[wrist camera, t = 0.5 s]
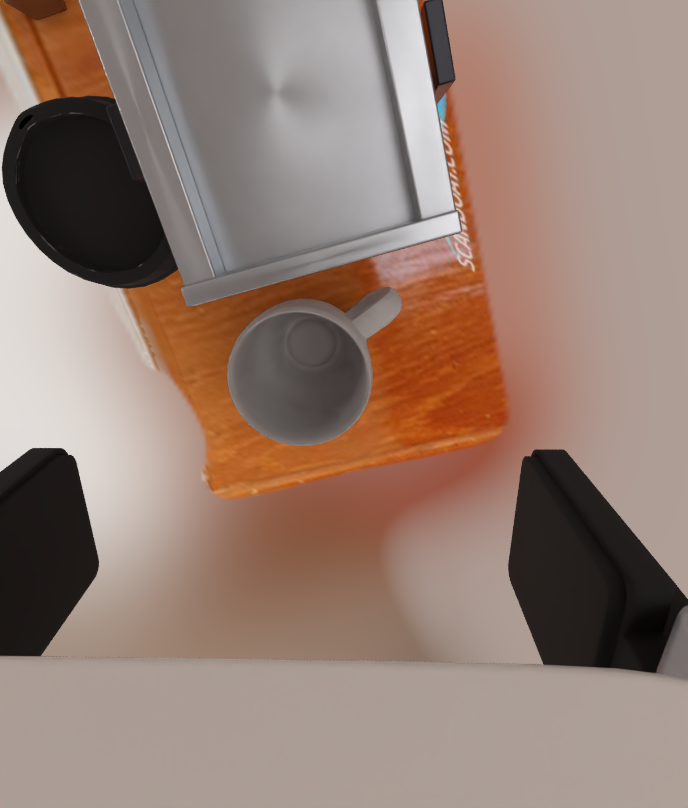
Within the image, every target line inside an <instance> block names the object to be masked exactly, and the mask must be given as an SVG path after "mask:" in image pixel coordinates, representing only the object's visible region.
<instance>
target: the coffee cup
mask: <svg viewBox="0 0 688 808" xmlns="http://www.w3.org/2000/svg"><path fill="white" fill-rule="evenodd" d="M113 104H116V100H115V99H113V98H109V97H101V96H84V97H64V98H57V99H53V100H49V101H46V102H43V103H40V104H38V105H35V106H33V107H31V108H29V109H27V110H25V111H24V112H22V113H21V114H20V115H19V116H18V118H17V119H16V121H15V123H14V125H13V127H12V129H11V132H10V135H9V137H8V140H7V143H6V146H5V150H4V155H3V163H2V175H3V185H4V188H5V192H6V196H7V199H8V202H9V204H10V206H11V208H12V210H13V213H14V215H15V216H16V219H17V220H18V222H19V223H20V225H21V226H22V228H23V229H24V231H25V232H26V234H27V235H28V237H29V238H30V239H31V240H32V241H33V242H34V244H35V245H36V246H37V247H38V248H39V249H40V250H41V251H42V252H43V253H44V254H45V255H46V256H48V258H50V259H51V260H52V261H53V262H54V263H56V264H57V265H59V266H60V267H62V268H63V269H65V270H66V271H68V272H69V273H71V274H74V275H76V276H78V277H80V278H82V279H84V280H88V281H91V282H95V283H98V284H102V285H106V286H110V287H114V288H136V287H143V286H147V285H150V284H152V283H155V282H158V281H160V280H162V279H164V278H166V277H167V276H169V275H170V274H172V273H173V272H175V271H176V270H177V269H178V267H177V264H176V262H175V259H174V256H173V254H172V251H171V248H170V245H169V243H168V240H167V237H166V235H165V232H164V229H163V227H162V224H161V221H160V219H159V216H158V213H157V211H156V208H155V205H154V202H153V200H152V197H151V194H150V192H149V189H148V186H147V184H146V181H138V180H133V178H132V176H131V173H130V170H129V168H128V165H127V162H126V160H125V157H124V155H123V152H122V149H121V147H120V144H119V141H118V139H117V136H116V134H115V131H114V128H113V126H112V123H111V120H110V118H109V115H108V112H107V110H106V107H107V106H110V105H113Z"/></svg>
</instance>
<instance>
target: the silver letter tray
mask: <svg viewBox="0 0 688 808" xmlns="http://www.w3.org/2000/svg"><path fill="white" fill-rule="evenodd" d="M78 1H79V4H80V6H81V9H82V12H83V14H84V17H85V20H86V23H87V25H88V28H89V31H90V33H91V36H92V39H93V41H94V44H95V47H96V49H97V52H98V55H99V57H100V60H101V63H102V66H103V68H104V71H105V74H106V76H107V79H108V82H109V84H110V87H111V90H112V92H113V95H114V98H115V100H116V103H117V106H118V108H119V111H120V114H121V117H122V119H123V122H124V125H125V127H126V130H127V133H128V135H129V138H130V141H131V143H132V146H133V149H134V151H135V154H136V157H137V160H138V162H139V165H140V168H141V170H142V173H143V176H144V178H145V181H146V184H147V186H148V189H149V192H150V194H151V197H152V200H153V202H154V205H155V208H156V211H157V213H158V216H159V219H160V221H161V224H162V227H163V229H164V232H165V235H166V237H167V240H168V243H169V245H170V248H171V251H172V254H173V256H174V259H175V262H176V264H177V267H178V270H179V272H180V275H181V278H182V280H183V283H184V286H183V287H182V288H181V292H182V294H183V297H184V300H185V302H186V305H187V306H188V307H193V306H196V305H200V304H204V303H207V302H211V301H215V300H218V299H222V298H225V297H229V296H233V295H236V294H240V293H244V292H247V291H251V290H255V289H258V288H262V287H265V286H269V285H273V284H276V283H280V282H284V281H287V280H291V279H295V278H298V277H302V276H305V275H309V274H313V273H316V272H320V271H324V270H327V269H331V268H335V267H338V266H342V265H346V264H349V263H353V262H356V261H360V260H364V259H367V258H371V257H375V256H378V255H382V254H386V253H389V252H393V251H396V250H400V249H404V248H407V247H411V246H415V245H418V244H422V243H426V242H429V241H433V240H436V239H440V238H444V237H447V236H451V235H455V234H458V233H461V232H462V227H461V221H460V215H459V212H458V210H456V208H455V202H454V196H453V191H452V185H451V180H450V174H449V169H448V163H447V157H446V152H445V146H444V141H443V135H442V130H441V124H440V118H439V113H438V107H437V102H436V96H435V91H434V85H433V79H432V74H431V68H430V63H429V57H428V52H427V46H426V40H425V35H424V29H423V24H422V18H421V13H420V7H419V1H418V0H78Z"/></svg>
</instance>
